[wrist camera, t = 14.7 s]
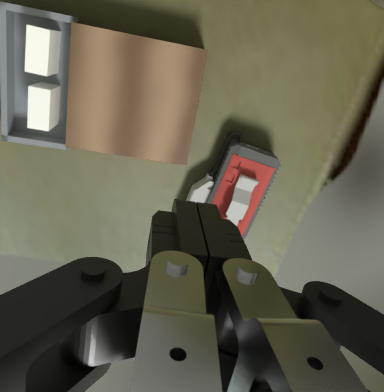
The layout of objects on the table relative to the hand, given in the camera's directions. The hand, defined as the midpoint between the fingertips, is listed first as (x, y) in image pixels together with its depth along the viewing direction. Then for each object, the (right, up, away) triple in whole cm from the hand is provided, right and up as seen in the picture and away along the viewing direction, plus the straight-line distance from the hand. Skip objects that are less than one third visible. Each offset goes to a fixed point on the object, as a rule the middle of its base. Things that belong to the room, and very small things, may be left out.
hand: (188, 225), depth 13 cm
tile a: (-13, +15, +21) cm, 29 cm away
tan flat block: (-6, +12, +26) cm, 29 cm away
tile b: (-14, +10, +23) cm, 29 cm away
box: (-16, +13, +24) cm, 32 cm away
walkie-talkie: (+3, 0, +33) cm, 33 cm away
